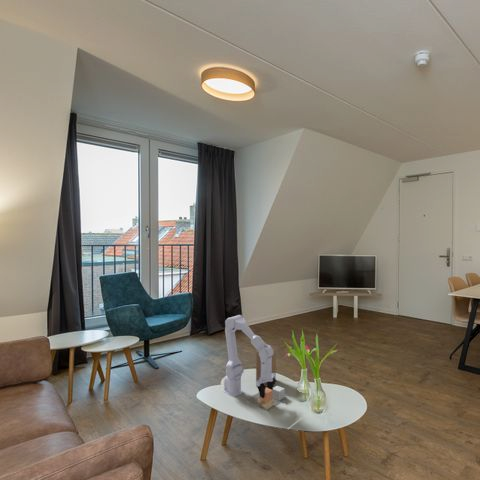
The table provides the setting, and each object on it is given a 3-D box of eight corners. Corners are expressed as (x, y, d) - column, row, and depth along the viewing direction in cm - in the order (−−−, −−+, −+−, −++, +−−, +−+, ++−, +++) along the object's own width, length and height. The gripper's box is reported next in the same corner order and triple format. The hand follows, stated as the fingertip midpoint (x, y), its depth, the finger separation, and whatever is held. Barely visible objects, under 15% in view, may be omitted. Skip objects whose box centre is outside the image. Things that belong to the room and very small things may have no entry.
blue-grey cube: (271, 397, 179) (271, 388, 179) (277, 394, 182) (277, 385, 182) (279, 400, 175) (279, 391, 175) (284, 397, 179) (284, 388, 179)
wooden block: (255, 384, 196) (255, 351, 195) (260, 377, 205) (261, 346, 205) (271, 387, 192) (271, 353, 192) (276, 380, 201) (276, 348, 201)
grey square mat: (245, 400, 176) (245, 399, 176) (265, 389, 189) (265, 388, 189) (268, 411, 165) (268, 410, 165) (288, 398, 178) (288, 397, 178)
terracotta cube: (259, 399, 170) (259, 390, 170) (265, 396, 174) (265, 387, 174) (266, 403, 167) (267, 393, 167) (272, 399, 171) (272, 390, 171)
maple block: (257, 405, 170) (258, 399, 170) (264, 400, 175) (264, 395, 175) (266, 409, 166) (266, 403, 166) (273, 404, 171) (273, 399, 171)
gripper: (263, 376, 162) (263, 402, 162) (280, 367, 173) (280, 392, 173) (252, 372, 167) (252, 397, 167) (269, 363, 178) (269, 388, 178)
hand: (265, 394), depth 171 cm, fingers open, 6 cm apart
